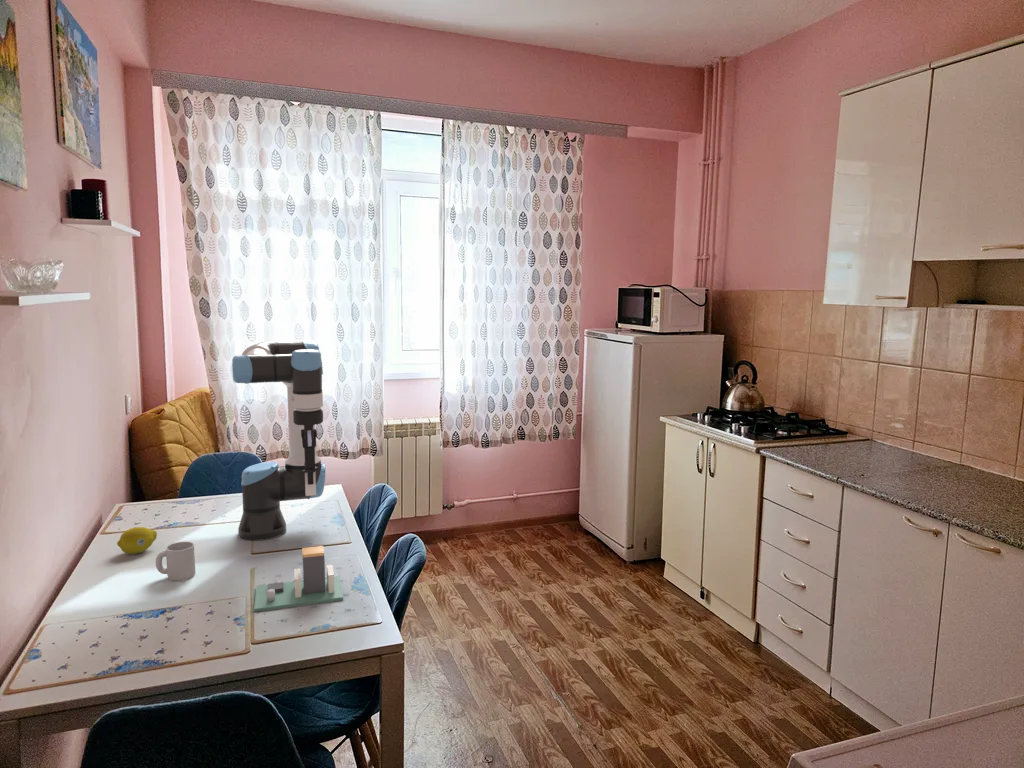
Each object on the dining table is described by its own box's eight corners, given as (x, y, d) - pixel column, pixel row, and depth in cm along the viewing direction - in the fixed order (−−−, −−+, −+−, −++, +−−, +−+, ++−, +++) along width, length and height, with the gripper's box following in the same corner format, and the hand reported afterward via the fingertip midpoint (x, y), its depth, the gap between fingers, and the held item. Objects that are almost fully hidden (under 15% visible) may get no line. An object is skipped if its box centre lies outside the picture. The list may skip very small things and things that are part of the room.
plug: (303, 586, 180) (302, 547, 179) (324, 583, 182) (323, 545, 181) (304, 594, 176) (302, 554, 174) (325, 591, 178) (324, 552, 176)
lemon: (118, 560, 199) (116, 534, 198) (117, 551, 206) (115, 527, 205) (158, 553, 205) (157, 528, 204) (157, 545, 211) (155, 521, 210)
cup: (194, 579, 186) (192, 549, 185) (154, 584, 183) (152, 553, 182) (197, 569, 193) (195, 540, 192) (158, 574, 190) (156, 544, 189)
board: (256, 588, 181) (255, 568, 180) (339, 578, 188) (338, 558, 187) (254, 611, 168) (253, 590, 167) (343, 600, 175) (342, 579, 174)
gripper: (292, 404, 179) (295, 488, 183) (293, 413, 167) (296, 503, 170) (321, 403, 182) (324, 486, 185) (324, 412, 169) (326, 501, 173)
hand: (310, 494), depth 178 cm, fingers closed
